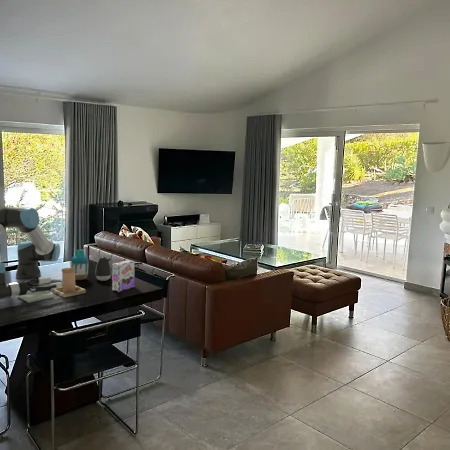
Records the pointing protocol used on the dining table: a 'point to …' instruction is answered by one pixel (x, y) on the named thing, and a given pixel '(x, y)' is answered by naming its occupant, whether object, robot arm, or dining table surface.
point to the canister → (68, 280)
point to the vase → (80, 265)
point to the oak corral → (80, 291)
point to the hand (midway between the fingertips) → (55, 282)
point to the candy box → (123, 275)
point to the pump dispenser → (103, 269)
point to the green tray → (36, 296)
